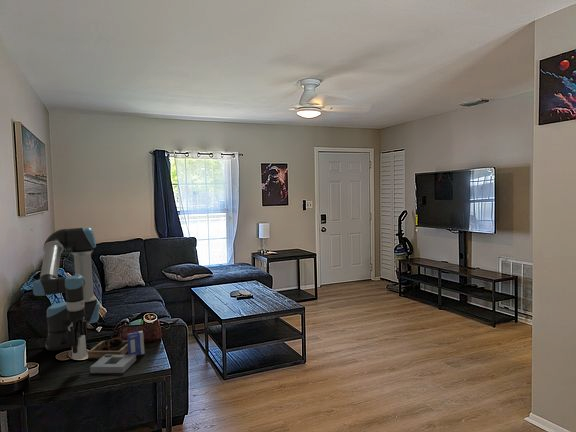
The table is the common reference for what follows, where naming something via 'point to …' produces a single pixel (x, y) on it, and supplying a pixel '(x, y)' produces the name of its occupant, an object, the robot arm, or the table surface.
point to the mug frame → (98, 353)
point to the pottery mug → (114, 344)
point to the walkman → (135, 343)
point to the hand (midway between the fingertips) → (79, 356)
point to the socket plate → (113, 363)
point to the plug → (81, 346)
